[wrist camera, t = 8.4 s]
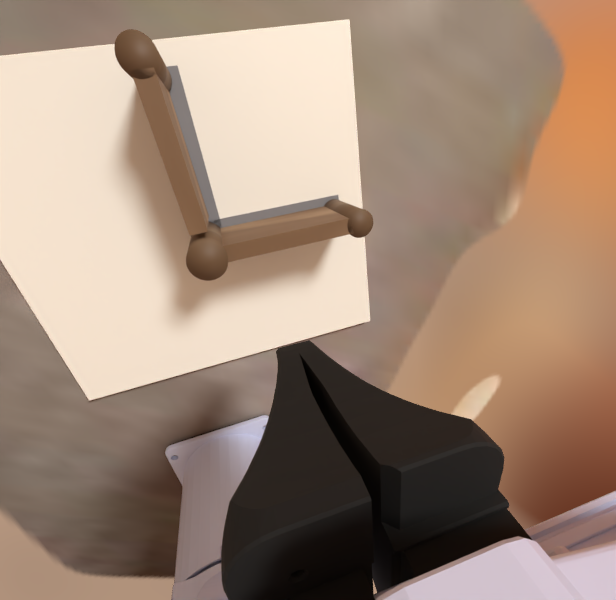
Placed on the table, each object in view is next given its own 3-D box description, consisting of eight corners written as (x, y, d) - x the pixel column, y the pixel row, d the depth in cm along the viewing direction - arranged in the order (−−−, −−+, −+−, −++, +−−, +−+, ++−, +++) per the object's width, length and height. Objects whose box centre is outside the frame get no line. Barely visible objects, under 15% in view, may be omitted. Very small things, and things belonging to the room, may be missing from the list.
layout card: (367, 317, 24) (370, 320, 24) (91, 395, 21) (89, 400, 20) (345, 22, 16) (349, 19, 16) (-109, 71, 13) (-121, 68, 12)
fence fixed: (345, 223, 20) (378, 240, 16) (197, 256, 18) (193, 284, 14) (342, 193, 19) (376, 204, 15) (187, 225, 17) (179, 246, 14)
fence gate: (188, 220, 17) (182, 237, 14) (133, 62, 14) (106, 32, 11) (214, 214, 18) (214, 230, 14) (165, 57, 14) (150, 26, 11)
